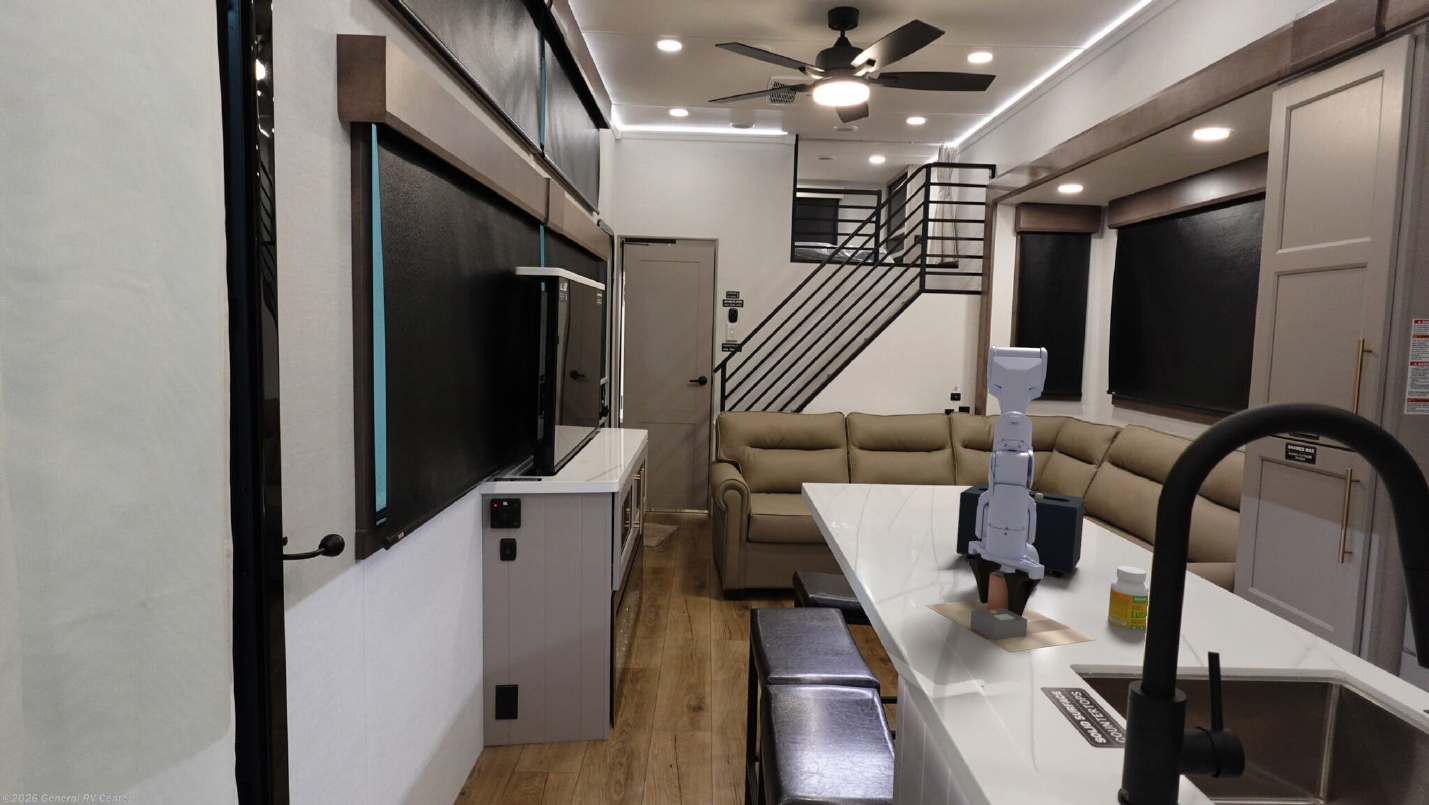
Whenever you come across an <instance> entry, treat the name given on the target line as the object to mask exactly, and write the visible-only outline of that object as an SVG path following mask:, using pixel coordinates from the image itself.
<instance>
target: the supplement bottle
mask: <svg viewBox="0 0 1429 805" xmlns="http://www.w3.org/2000/svg"><path fill="white" fill-rule="evenodd" d="M1116 578H1117V579H1114V580H1112V582H1111V584H1110V590H1109V602H1108V603H1109V606H1108V612H1107V613H1108V615H1107V621H1108V622H1109V623H1111V624H1113V625H1115V626H1117V627H1121V628H1124V629H1125V628H1126V629H1131V630H1144V629H1146V628H1147V627H1146V616H1147V606H1148V592H1149V589H1150V587H1149V586H1148V585H1147V584H1145V582H1146V581H1147V580H1146V578H1147V571H1145V570H1144V569H1142V568H1139V567H1136V566H1129V565H1127V566H1126V565H1119V566H1117V569H1116Z"/></svg>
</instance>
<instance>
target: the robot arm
mask: <svg viewBox="0 0 1429 805" xmlns="http://www.w3.org/2000/svg"><path fill="white" fill-rule="evenodd" d="M987 354H988V355H987V368H986V370H987V371H986V378H987V379H986V380H987V385H986V387H987V390H988V392H987V393H988V394H989V395H990V396H993V397H994V398H995V399H997V401H998V404H999V405H998V406H999V409H1000V415H999V416H998V417H997V418H996V419H995V421H994V433H993V435H994V436H993V444H992V452H990V454H989V461H988V462H989V464H988V475H987V478H988V479H987V481H988V485H989V490H988V491H986V492H984V493H982V494H981V496H980V497H979V502H978V506H977V517H976V531H975V535H976V536H978V538H980V539H981V535H982V542H980V541H972V542H969V552H968V553H970V554H976V557H975V558H971V559H969V560H968V563H967V564H968V565H969V566H970V568H971V571H972V573H973V576H974V579H975V581H976V583H975V584H976V585H977V590H978V591H977V592H978V597H979V600H980V602H981V603H983V604H986V603H988V593H989V579H990V573H992V572H995V571H996V570H1005V571H1009V572H1011V573H1004V578H1005V581H1006V585H1007V590H1008V610H1009V611H1011V612H1013V613H1015V614H1017V615H1019V616H1021V617H1022V615H1023V612H1024V609H1025V607H1026V606H1027V604H1028V601H1029V599H1030V597H1031V595H1032V593H1033V591H1034V590H1038V584H1039V583H1040V582H1041V580H1042V579H1044V576H1045V575H1044V574H1045V569H1044V566H1043V565H1041V564H1039V557H1038V553H1037V551H1036V549H1035V548H1034V547H1033V546H1032V545H1031V544H1032V543H1033V542H1034V540H1035V531H1036V503H1035V501H1034V499H1032V498H1031V497H1030V496H1029V491H1030V490H1031V488H1032V486H1033V483H1034V474H1035V473H1034V472H1035V456H1034V451H1033V448H1034V447H1033V446H1032V443H1033V442H1032V441H1033V440H1032V439H1033V422H1032V421H1031V419H1030V418H1029V417H1028V416H1027V415H1026V411H1027V408H1028V407H1029V404H1030V402H1031V401H1033V400H1034V399H1037V398H1040V397H1041V396H1042V392H1043V391H1044V384H1045V380H1046V376H1047V367H1048V366H1047V365H1048V351H1047V349H1046V348H1045V347H1040V348H1037V347H1034V348H1033V347H1032V348H1031V347H1013V346H1011V347H1010V346H1009V347H1007V346H995V345H991V347H990V348H988V353H987ZM1027 481H1029V488H1028V487H1027ZM983 513H984V515H983ZM982 527H983V532H982Z"/></svg>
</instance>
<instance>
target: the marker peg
mask: <svg viewBox="0 0 1429 805" xmlns="http://www.w3.org/2000/svg"><path fill="white" fill-rule="evenodd" d="M1004 573H1011V572H1009V571H1005V570H996V571H995V572H992V573H990V579H989V593H988V607H987V610H988V609H997V608H1004V609H1007V610H1008V590H1007V585H1006V581H1005V578H1004Z"/></svg>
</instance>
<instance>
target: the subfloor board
mask: <svg viewBox="0 0 1429 805" xmlns="http://www.w3.org/2000/svg"><path fill="white" fill-rule="evenodd" d="M925 607H927V608H929V609H930V610H933V611H934V612H936V613H938V614H939V615H941V616H943V617H945V618H946V619H949V620H951V621H953V622H954V623H956V624H958V625H959V626H961V627H963V628H966V629H967V630H968V631H971V632H972V633H974V634H976V635H977V636H979V637H982V638H984V639H985V640H987V641H989V642H991V643H993V644H994V645H997V646H998V647H1000V648H1002V649H1003V650H1005V651H1007V652H1009V653H1014V652H1022V651H1028V650H1035V649H1042V648H1048V647H1049V648H1050V647H1058V646H1063V645H1064V646H1065V645H1071V644H1077V643H1082V642H1083V643H1084V642H1085V643H1086V642H1091V641H1097V639H1095V638H1093V637H1092V636H1089V635H1087V634H1086V633H1082V632H1080V631H1078V630H1076V629H1074V628H1072V627H1070V626H1067V625H1065V624H1063V623H1061V622H1059V621H1056V620H1054V619H1052V618H1050V617H1048V616H1046V615H1043V614H1041V613H1039V612H1037V611H1035V610H1033V609H1031V608H1028V607H1026V606H1025V609H1024V612H1023V615H1022V617H1023V618H1025V619H1027V631H1026V636H1022V637H1015V638H1007V639H1000V640H992V639H990V638H989V637H987V636H985V635H983V634H981V633H979V632H977V631H976V630H974V629H972V628H970V624H971V611H980V610H987V607H988V603H986V604H983V603H981V602H980V599H971V600H964V601H963V600H961V601H954V602H946V603H937V604H935V603H934V604H928V605H927V604H926V605H925Z"/></svg>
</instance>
